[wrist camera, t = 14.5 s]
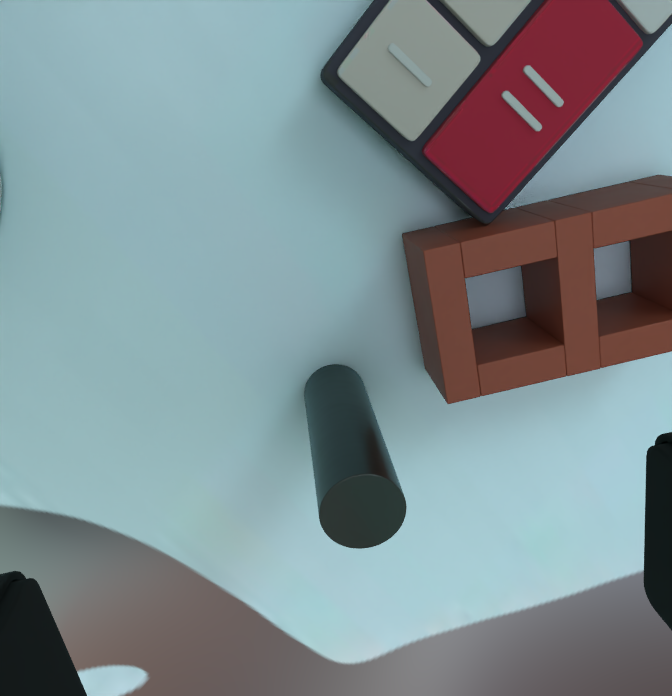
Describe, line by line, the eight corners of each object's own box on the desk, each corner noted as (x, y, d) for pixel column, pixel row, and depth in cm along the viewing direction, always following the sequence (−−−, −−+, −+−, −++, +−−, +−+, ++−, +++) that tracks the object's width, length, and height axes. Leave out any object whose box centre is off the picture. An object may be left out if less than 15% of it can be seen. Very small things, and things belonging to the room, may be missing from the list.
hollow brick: (424, 368, 36) (447, 404, 31) (401, 233, 33) (422, 250, 29) (661, 313, 36) (719, 340, 32) (659, 174, 34) (722, 182, 29)
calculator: (318, 73, 27) (570, -261, 23) (315, 77, 31) (529, -208, 27) (492, 231, 30) (738, -40, 26) (469, 216, 34) (679, -22, 30)
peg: (311, 425, 37) (329, 557, 25) (298, 371, 35) (310, 485, 24) (369, 412, 37) (412, 537, 25) (358, 358, 35) (398, 465, 24)
